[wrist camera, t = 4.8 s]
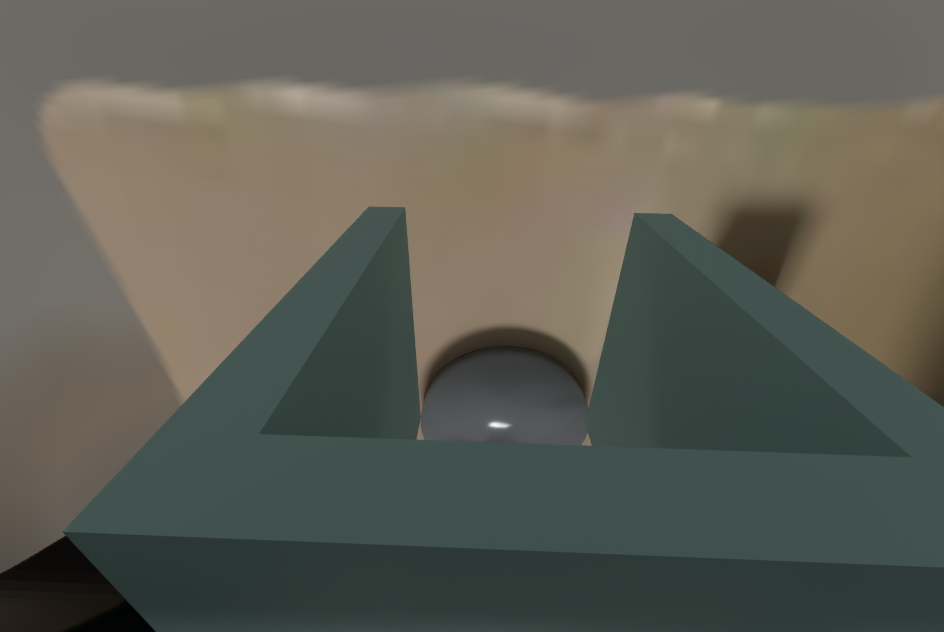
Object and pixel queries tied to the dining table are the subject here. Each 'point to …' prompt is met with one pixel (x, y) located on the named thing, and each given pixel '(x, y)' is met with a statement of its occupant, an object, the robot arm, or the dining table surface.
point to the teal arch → (538, 473)
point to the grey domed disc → (505, 400)
